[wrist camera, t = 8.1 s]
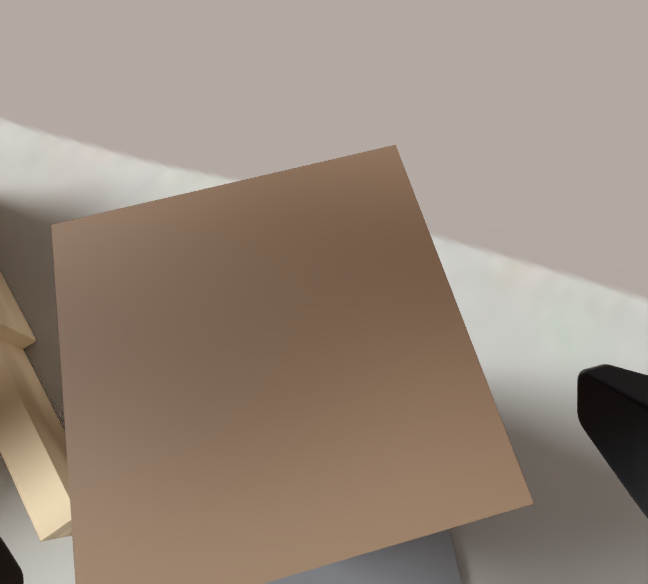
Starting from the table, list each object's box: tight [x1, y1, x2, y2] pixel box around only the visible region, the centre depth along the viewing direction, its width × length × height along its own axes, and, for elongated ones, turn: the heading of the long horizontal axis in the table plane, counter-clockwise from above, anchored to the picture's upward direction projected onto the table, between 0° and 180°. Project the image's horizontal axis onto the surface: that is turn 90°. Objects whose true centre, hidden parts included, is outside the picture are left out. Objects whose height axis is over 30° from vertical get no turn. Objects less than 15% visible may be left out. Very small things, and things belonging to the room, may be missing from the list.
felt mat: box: [264, 529, 462, 584], centre depth 17 cm, size 10×8×1 cm
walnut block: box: [51, 145, 534, 584], centre depth 11 cm, size 4×4×12 cm
